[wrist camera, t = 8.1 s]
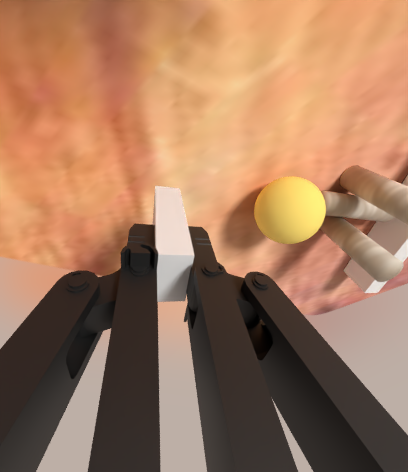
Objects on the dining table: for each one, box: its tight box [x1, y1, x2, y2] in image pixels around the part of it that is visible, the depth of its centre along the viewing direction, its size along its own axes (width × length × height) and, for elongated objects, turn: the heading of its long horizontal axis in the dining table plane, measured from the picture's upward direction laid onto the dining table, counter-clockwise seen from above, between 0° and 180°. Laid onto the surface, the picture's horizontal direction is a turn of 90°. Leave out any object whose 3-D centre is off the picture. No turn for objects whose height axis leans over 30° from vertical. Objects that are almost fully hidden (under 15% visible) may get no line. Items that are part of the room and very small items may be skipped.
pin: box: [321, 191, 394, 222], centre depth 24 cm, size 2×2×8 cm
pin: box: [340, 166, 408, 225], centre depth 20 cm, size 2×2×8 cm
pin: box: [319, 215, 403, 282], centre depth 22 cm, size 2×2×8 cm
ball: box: [254, 177, 326, 244], centre depth 20 cm, size 6×6×6 cm
